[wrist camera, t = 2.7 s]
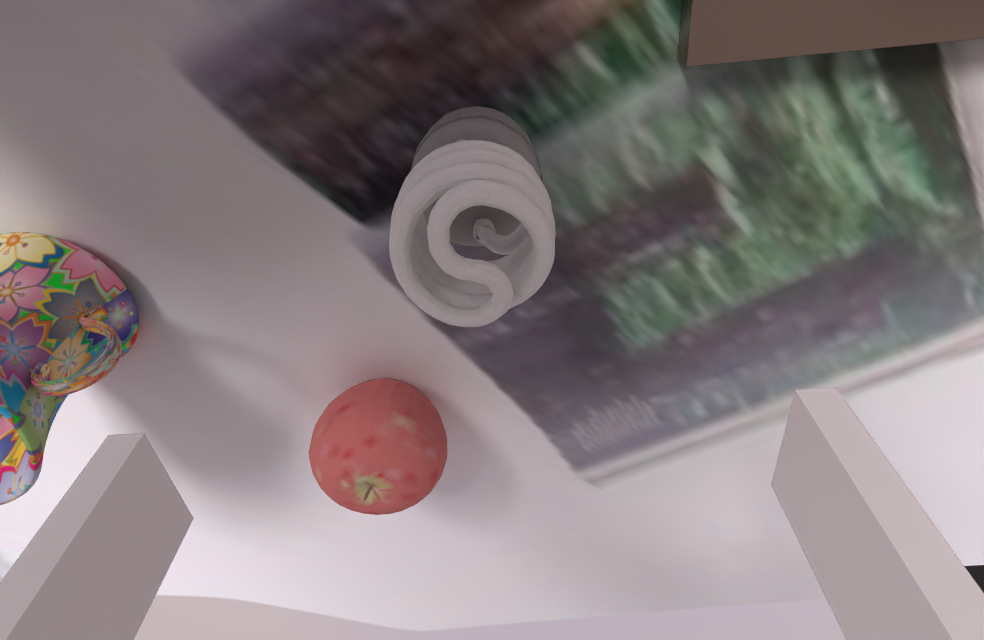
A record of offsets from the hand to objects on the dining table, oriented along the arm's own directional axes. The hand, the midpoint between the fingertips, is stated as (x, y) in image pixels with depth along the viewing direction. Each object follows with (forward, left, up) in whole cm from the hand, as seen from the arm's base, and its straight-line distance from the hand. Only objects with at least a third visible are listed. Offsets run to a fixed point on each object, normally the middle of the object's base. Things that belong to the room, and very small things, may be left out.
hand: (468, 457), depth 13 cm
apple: (-7, -15, -19) cm, 26 cm away
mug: (-22, -6, -19) cm, 30 cm away
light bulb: (0, 0, -19) cm, 19 cm away
